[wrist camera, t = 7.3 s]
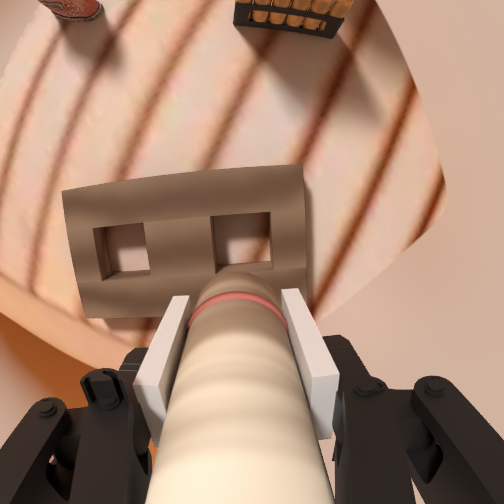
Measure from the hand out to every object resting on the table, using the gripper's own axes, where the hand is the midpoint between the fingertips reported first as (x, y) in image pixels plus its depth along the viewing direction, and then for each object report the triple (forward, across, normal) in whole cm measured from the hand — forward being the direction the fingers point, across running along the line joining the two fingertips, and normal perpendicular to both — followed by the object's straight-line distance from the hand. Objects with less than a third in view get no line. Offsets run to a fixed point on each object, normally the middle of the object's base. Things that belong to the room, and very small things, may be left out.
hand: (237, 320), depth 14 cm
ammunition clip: (+19, +6, +23) cm, 31 cm away
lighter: (+19, -18, +30) cm, 39 cm away
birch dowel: (+1, 0, 0) cm, 1 cm away
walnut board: (+19, -6, 0) cm, 20 cm away
